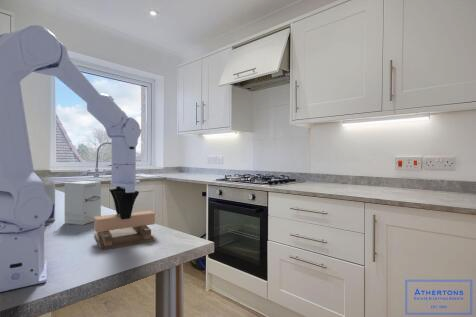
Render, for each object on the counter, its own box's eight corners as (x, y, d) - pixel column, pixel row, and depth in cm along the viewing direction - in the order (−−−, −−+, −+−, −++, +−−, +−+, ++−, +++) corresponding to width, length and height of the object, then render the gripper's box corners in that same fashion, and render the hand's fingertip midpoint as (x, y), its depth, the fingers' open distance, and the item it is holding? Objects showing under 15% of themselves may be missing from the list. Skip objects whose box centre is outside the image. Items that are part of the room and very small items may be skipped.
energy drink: (30, 224, 80) (30, 184, 80) (38, 219, 85) (38, 182, 85) (51, 223, 82) (51, 184, 81) (57, 218, 87) (57, 182, 87)
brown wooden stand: (153, 240, 67) (154, 228, 67) (101, 250, 60) (101, 237, 60) (140, 228, 77) (141, 218, 77) (94, 236, 70) (94, 224, 70)
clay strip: (96, 232, 63) (96, 219, 63) (93, 228, 67) (93, 216, 67) (154, 224, 71) (154, 213, 71) (150, 221, 75) (150, 210, 75)
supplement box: (83, 225, 80) (83, 183, 80) (63, 223, 82) (63, 182, 81) (101, 219, 87) (101, 181, 87) (83, 217, 89) (83, 180, 89)
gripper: (147, 165, 65) (147, 220, 65) (133, 162, 77) (132, 209, 77) (116, 166, 61) (116, 225, 61) (106, 163, 73) (105, 212, 73)
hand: (123, 216), depth 69 cm, fingers closed on clay strip, 4 cm apart
